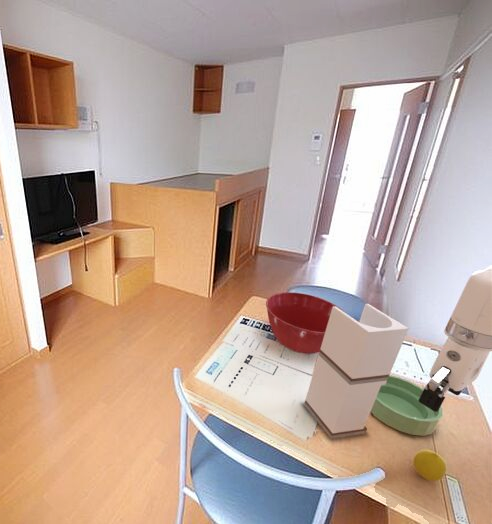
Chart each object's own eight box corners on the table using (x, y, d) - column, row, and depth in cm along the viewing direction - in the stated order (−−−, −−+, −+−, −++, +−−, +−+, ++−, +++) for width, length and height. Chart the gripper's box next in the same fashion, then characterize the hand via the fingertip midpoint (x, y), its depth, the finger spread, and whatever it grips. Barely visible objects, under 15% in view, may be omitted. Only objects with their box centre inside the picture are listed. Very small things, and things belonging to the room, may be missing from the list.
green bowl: (420, 398, 96) (427, 384, 94) (446, 446, 81) (455, 430, 79) (355, 381, 103) (360, 367, 100) (368, 423, 88) (374, 408, 85)
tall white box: (364, 433, 85) (408, 328, 71) (330, 438, 83) (368, 332, 70) (334, 400, 95) (368, 303, 81) (304, 404, 93) (332, 306, 80)
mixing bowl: (348, 375, 105) (360, 338, 99) (260, 357, 113) (267, 322, 108) (329, 330, 130) (339, 298, 124) (259, 318, 138) (265, 287, 132)
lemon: (403, 464, 77) (414, 442, 74) (425, 465, 77) (437, 443, 73) (420, 487, 72) (433, 465, 68) (444, 488, 71) (458, 466, 68)
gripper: (480, 357, 53) (441, 427, 59) (517, 331, 60) (479, 396, 67) (427, 334, 59) (397, 399, 65) (466, 313, 66) (436, 374, 73)
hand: (438, 398), depth 66 cm, fingers open, 9 cm apart
